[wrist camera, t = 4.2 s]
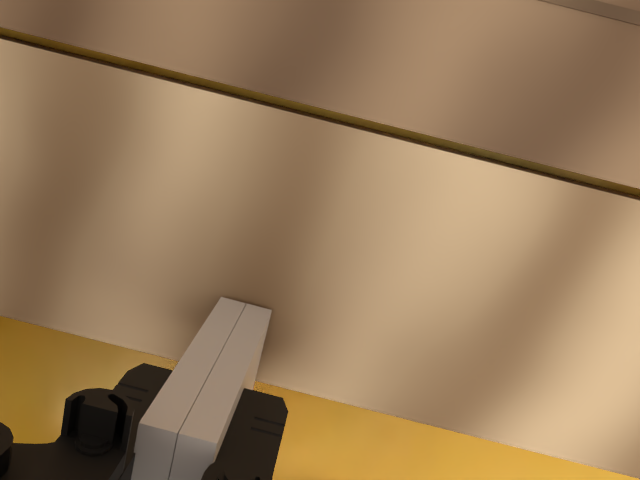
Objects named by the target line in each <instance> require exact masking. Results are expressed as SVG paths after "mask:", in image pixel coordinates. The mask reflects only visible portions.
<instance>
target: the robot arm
mask: <svg viewBox="0 0 640 480" xmlns="http://www.w3.org/2000/svg"><path fill="white" fill-rule="evenodd" d="M271 312H272V310H270V309H266V308H262V307H259V306H255V305H251V304H246V303H243V302H239V301H235V300H232V299H228V298H224V297H221V298H220V299H219V301H218V303H217V304H216V306H215V307H214V309H213V310H212V312H211V313H210V315H209V316H208V318H207V319H206V321H205V322H204V324H203V325H202V327H201V329H200V330H199V332H198V333H197V335H196V336H195V338H194V339H193V341H192V342H191V344H190V345H189V347H188V348H187V350H186V352H185V353H184V355H183V356H182V358H181V359H180V361H179V362H178V364H177V365H176V367H175V368H174V370H173V371H172V370H168V369H164V368H160V367H157V366H153V365H149V364H145V363H143V364H141V365H139V366H137V367H135V368H133V369H131V370H129V371H127V373H126V374H125V375H124V376H123V378H122V379H121V380H120V381H119V383H118V385H116V386H115V388H114V389H113V390H109V389H102V388H96V389H85V390H82V391H79V392H76V393H74V394H72V395H71V396H69V397H68V398H66V401H65V408H64V415H63V423H62V430H61V435H60V437H59V438H58V439H57V440H56V441H55V442H53V443H48V444H23V443H13V435H12V432H11V430H10V429H9V428H8V427H7V426H5V425H4V424H3V423H1V422H0V480H272V476H273V472H274V467H275V463H276V459H277V455H278V451H279V447H280V443H281V439H282V435H283V431H284V426H285V422H286V418H287V414H288V410H287V407H286V405H285V402H284V400H283V398H281V397H277V396H273V395H269V394H265V393H262V392H258V391H254V390H253V387H254V383H255V379H256V375H257V371H258V366H259V362H260V358H261V354H262V350H263V346H264V341H265V337H266V333H267V329H268V325H269V320H270V316H271Z"/></svg>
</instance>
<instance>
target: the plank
mask: <svg viewBox="0 0 640 480" xmlns="http://www.w3.org/2000/svg"><path fill="white" fill-rule="evenodd" d="M221 297H224V298H228V299H232V300H235V301H239V302H243V303H246V304H251V305H255V306H259V307H262V308H266V309H270V310H272V312H271V316H270V320H269V325H268V329H267V333H266V337H265V341H264V346H263V350H262V354H261V358H260V362H259V366H258V371H257V375H256V379H255V381H258V382H262V383H266V384H270V385H274V386H278V387H282V388H286V389H290V390H293V391H297V392H301V393H305V394H309V395H313V396H317V397H321V398H325V399H329V400H333V401H337V402H341V403H344V404H348V405H352V406H356V407H360V408H364V409H368V410H372V411H376V412H380V413H384V414H388V415H392V416H396V417H399V418H403V419H407V420H411V421H415V422H419V423H423V424H427V425H431V426H435V427H439V428H443V429H447V430H450V431H454V432H458V433H462V434H466V435H470V436H474V437H478V438H482V439H486V440H490V441H494V442H498V443H501V444H505V445H509V446H513V447H517V448H521V449H525V450H529V451H533V452H537V453H541V454H545V455H549V456H552V457H556V458H560V459H564V460H568V461H572V462H576V463H580V464H584V465H588V466H592V467H596V468H600V469H603V470H607V471H611V472H615V473H619V474H623V475H627V476H631V477H635V478H639V479H640V197H639V196H635V195H631V194H627V193H623V192H619V191H615V190H611V189H607V188H603V187H599V186H596V185H592V184H588V183H584V182H580V181H576V180H572V179H568V178H564V177H560V176H556V175H552V174H548V173H544V172H540V171H536V170H532V169H528V168H524V167H520V166H516V165H513V164H509V163H505V162H501V161H497V160H493V159H489V158H485V157H481V156H477V155H473V154H469V153H465V152H461V151H457V150H453V149H449V148H445V147H441V146H437V145H433V144H430V143H426V142H422V141H418V140H414V139H410V138H406V137H402V136H398V135H394V134H390V133H386V132H382V131H378V130H374V129H370V128H366V127H362V126H358V125H354V124H350V123H347V122H343V121H339V120H335V119H331V118H327V117H323V116H319V115H315V114H311V113H307V112H303V111H299V110H295V109H291V108H287V107H283V106H279V105H275V104H271V103H267V102H264V101H260V100H256V99H252V98H248V97H244V96H240V95H236V94H232V93H228V92H224V91H220V90H216V89H212V88H208V87H204V86H200V85H196V84H192V83H188V82H184V81H181V80H177V79H173V78H169V77H165V76H161V75H157V74H153V73H149V72H145V71H141V70H137V69H133V68H129V67H125V66H121V65H117V64H113V63H109V62H105V61H101V60H98V59H94V58H90V57H86V56H82V55H78V54H74V53H70V52H66V51H62V50H58V49H54V48H50V47H46V46H42V45H38V44H34V43H30V42H26V41H22V40H18V39H15V38H11V37H7V36H3V35H0V316H3V317H7V318H11V319H15V320H19V321H23V322H27V323H31V324H34V325H38V326H42V327H46V328H50V329H54V330H58V331H62V332H66V333H70V334H74V335H78V336H82V337H85V338H89V339H93V340H97V341H101V342H105V343H109V344H113V345H117V346H121V347H125V348H129V349H133V350H137V351H140V352H144V353H148V354H152V355H156V356H160V357H164V358H168V359H172V360H176V361H180V359H181V358H182V356H183V355H184V353H185V352H186V350H187V348H188V347H189V345H190V344H191V342H192V341H193V339H194V338H195V336H196V335H197V333H198V332H199V330H200V329H201V327H202V325H203V324H204V322H205V321H206V319H207V318H208V316H209V315H210V313H211V312H212V310H213V309H214V307H215V306H216V304H217V303H218V301H219V299H220V298H221Z"/></svg>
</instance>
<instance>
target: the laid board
mask: <svg viewBox="0 0 640 480" xmlns="http://www.w3.org/2000/svg"><path fill="white" fill-rule="evenodd" d="M0 27H2V28H6V29H10V30H14V31H18V32H22V33H26V34H30V35H33V36H37V37H41V38H45V39H49V40H53V41H57V42H61V43H65V44H69V45H73V46H77V47H81V48H85V49H89V50H93V51H97V52H101V53H105V54H109V55H113V56H116V57H120V58H124V59H128V60H132V61H136V62H140V63H144V64H148V65H152V66H156V67H160V68H164V69H168V70H172V71H176V72H180V73H184V74H188V75H192V76H196V77H200V78H203V79H207V80H211V81H215V82H219V83H223V84H227V85H231V86H235V87H239V88H243V89H247V90H251V91H255V92H259V93H263V94H267V95H271V96H275V97H279V98H283V99H286V100H290V101H294V102H298V103H302V104H306V105H310V106H314V107H318V108H322V109H326V110H330V111H334V112H338V113H342V114H346V115H350V116H354V117H358V118H362V119H366V120H370V121H373V122H377V123H381V124H385V125H389V126H393V127H397V128H401V129H405V130H409V131H413V132H417V133H421V134H425V135H429V136H433V137H437V138H441V139H445V140H449V141H453V142H456V143H460V144H464V145H468V146H472V147H476V148H480V149H484V150H488V151H492V152H496V153H500V154H504V155H508V156H512V157H516V158H520V159H524V160H528V161H532V162H536V163H539V164H543V165H547V166H551V167H555V168H559V169H563V170H567V171H571V172H575V173H579V174H583V175H587V176H591V177H595V178H599V179H603V180H607V181H611V182H615V183H619V184H623V185H626V186H630V187H634V188H638V189H640V0H0Z"/></svg>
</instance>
